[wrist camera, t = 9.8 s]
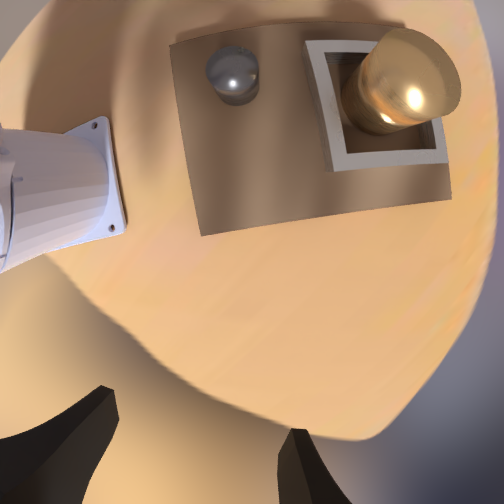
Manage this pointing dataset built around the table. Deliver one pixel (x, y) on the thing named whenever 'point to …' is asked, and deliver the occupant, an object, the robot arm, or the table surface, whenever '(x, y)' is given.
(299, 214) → the fitting board
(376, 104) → the cylinder
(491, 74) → the table surface
